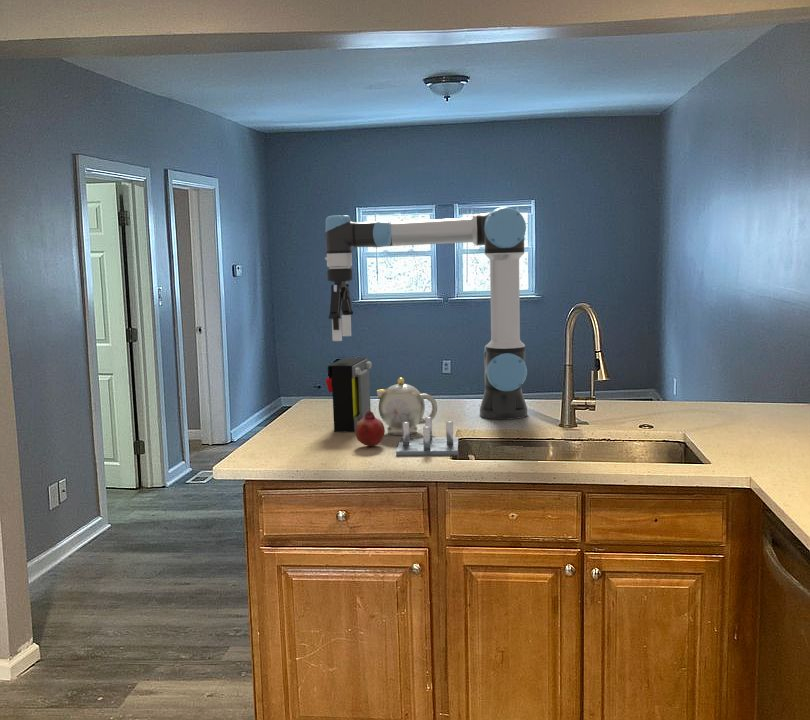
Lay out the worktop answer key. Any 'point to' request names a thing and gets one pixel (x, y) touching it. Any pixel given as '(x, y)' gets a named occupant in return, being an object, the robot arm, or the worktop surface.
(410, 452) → the grey square pegged plate
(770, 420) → the worktop surface
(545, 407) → the worktop surface
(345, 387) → the electrical component
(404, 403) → the teapot
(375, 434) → the fruit
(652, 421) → the worktop surface
